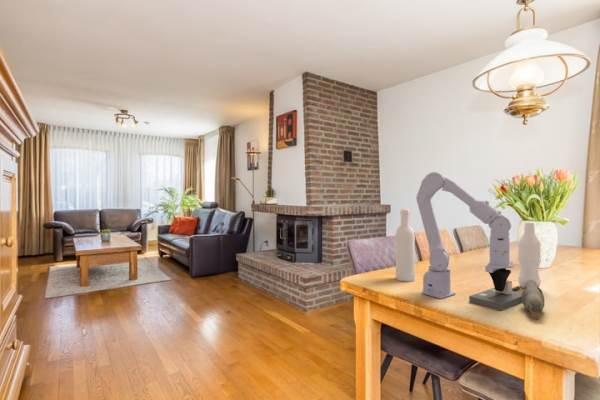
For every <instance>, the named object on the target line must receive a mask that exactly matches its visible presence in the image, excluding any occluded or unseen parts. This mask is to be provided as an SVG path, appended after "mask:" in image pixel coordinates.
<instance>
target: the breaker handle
mask: <svg viewBox="0 0 600 400" xmlns="http://www.w3.org/2000/svg"><path fill="white" fill-rule="evenodd" d="M512 288H513V281H512V280H508V279H507V281H506V284H505V287H504V291H502V292H501V291H496V290H495V292H500V293H504V294H510V293H512Z"/></svg>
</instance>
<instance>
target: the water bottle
mask: <svg viewBox="0 0 600 400" xmlns="http://www.w3.org/2000/svg"><path fill="white" fill-rule="evenodd" d="M535 230H536V228H535V222H524V227H523V233H522V235H521V236H520V238H519V240H518V242H517V245H518V246H517V247H518V251H517V252H518V253H517V254H518V257H517V260H518V262H519V263H518V264H519V266H520V271H519V275H518V276H517V282H518V284H519V287H520V288H523V289H524V287H525V286H526V281H527V280H529V279H531V280H533V281H535V282H536V284H537V287H538V288H540V287H541V278H540V275H539V267H540V264H541V262H542V259H541V246H542V244H541V242H540V239H539V237H538V236H537V234H536V231H535ZM526 287H527V286H526ZM526 287H525V288H526Z"/></svg>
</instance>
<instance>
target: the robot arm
mask: <svg viewBox="0 0 600 400" xmlns="http://www.w3.org/2000/svg"><path fill="white" fill-rule="evenodd" d="M439 190H441V191H444V192H447V193H451V194H452V195H453V196H455V197H456V198H458V199H459V200H460V201H462V202H463V203H465V204H466V206H468V208H469V212H470V213H471V214H472V215H473V216H475V217H476V218H477V219H479V220H480V222H482V223H484V224H485V225H488V227H489V229H490V230H489V231H490V234H489V235H490V236H489V262H488V264H487V265H485V266H484V267H485V269H484V271H485V272H486V273H488V274H489V276H490V277H491V280H492V283H493V288H495V290H496V291H501V292H502V291H504V287H505V284H506V281H507V280H508V278H509V277H510V274H511V273H512V270H511V269H513V268H514V265H513V264H514V263H513V261H511V260H510V240H511V239H510V230H511V228H512V224H511V222H510V219H508V218H507V217H506V216H505V215H503V214H502V211H500V210H497V209H495V208H494V207H493V206H491V205H490V202H489V201H488V200H484V199H475V198H474V197H473V196H472V195H471V194H469V193H468V192H466V190H464V188H462V187H461V186H459V184H457V183H456V182H454V181H453V180H451V179H449V178H447V177H445V176H443V175H442V174H441V173H439V172H436V171H435V172H434V171H433V172H430V173H428V174H426V175H425V177H424V178H423V179H422V180H421V184H420V187H419V189H418V191H417V194H416V198H415V199H416V202H417V207H418V211H419V214H420V218H421V221H422V226H423V229H424V232H425V236H426V240H427V243H428V251H429V255H430V257H429V266H428V271H425V273H424V274H423V277H422V283H423V284H422V290H423V291H421V294H423V295H426V296H430V297H433V298H437V299H439V300H440V299H441V300H442V299H444V298H448V297H451V296H454V295H456V292H454V291H451V268H450V267H449V264H450V255H449V252H447V251H446V250H445V247H444V244H443V241H442V237H441V234H440V229H439V227H438V222H437V220H436V216H435V211H434V208H433V204H432V202H431V201H432V199H433V197H434V196H435V195H436V193H437V192H439Z"/></svg>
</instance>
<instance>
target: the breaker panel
mask: <svg viewBox="0 0 600 400" xmlns="http://www.w3.org/2000/svg"><path fill="white" fill-rule="evenodd" d="M468 298H469V299H468V301H469V303H472V304H475V305H479V306H482V307H486V308H490V309H494V310H497V311H500V312H501V311H504V310H507V309H509V308H511V307H514V306H516V305H518V304H520V303H522V292H519V291H516V290H515V291H512V293H510V294H504V293H500V292H495V287H492V288H489V289H486V290H483V291H479V292H477V293H475V294H474V293H473V294H472V295H469V296H468Z"/></svg>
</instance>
